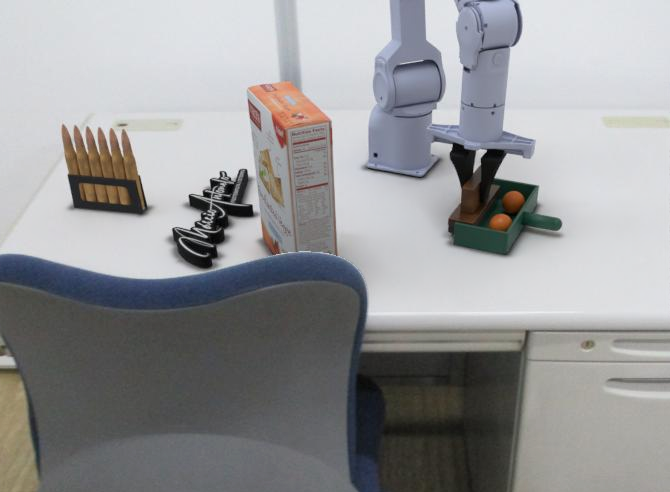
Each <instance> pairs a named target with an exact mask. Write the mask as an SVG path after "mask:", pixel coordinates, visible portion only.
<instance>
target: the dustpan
mask: <svg viewBox="0 0 670 492" xmlns="http://www.w3.org/2000/svg"><path fill="white" fill-rule="evenodd" d="M492 184H493V185H498V186H500V193H499V200H498V202H497V203H496V205H495V206H494V208H493V209H492V211H491V212H490V213H489V215H488V216H487V218H486V219H485V220H484V222H483V223H482V225H481V226H480V227H478V226H473V225H467V224H462V223H457V222H456V223H455V228H454V233H453V245H456V246H461V247H465V248H470V249H476V250H479V251H484V252H489V253H495V254H500V255H507V253H508V252H509V251H510V249H511V247H512V245H513V244H514V242H515V241H516V239H517V237H518V236H519V234H520V232H521V231H522V229H523V228H524V226H526V227H530V228H536V229H540V230H541V229H542V230H546V231H552V232H558V231H560V230H561V229H562V228H563V221H562V219H560V218H559V217H557V216H550V215H544V214H539V213H534V212H533V211H534V209H535V208H536V207H537V205H538V197H539V190H540V185H539V184H532V183H527V182H521V181H515V180H511V179H510V180H509V179H503V178H497V177H494V180H493V183H492ZM510 191H517V192H519V193H521V194H522V195H523V197H524V200H525V204H524V206H523V207H522V209H521V210H520V212H519V213H517V214H509V213H507V212H506V211H505V210H504V209H503V206H502V200H503V197H504V196H505V195H506V194H507V193H508V192H510ZM497 214H505V215H507V216H509V217H510V218H511V220H512V224H511V226H510V227H509V229H508V231H507V232H504V231H499V230H493V229H489V223H490V220H491V219H492V218H493V217H494V216H495V215H497Z"/></svg>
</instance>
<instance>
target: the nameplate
mask: <svg viewBox="0 0 670 492" xmlns="http://www.w3.org/2000/svg"><path fill="white" fill-rule="evenodd" d="M248 182H249V171H248V169H247V168H240V169H238V172H237V175H236V178H235V181H233V180H232V177H231V176H228V172H226V171H225V170H220V171H219V177H218V178H216V177H212V178H210V179H209V185H210V189H209V188H206V189H203V190H202V195H201V194H195V193H190V194H188V203H189V206H190V207H192V208H194V209H197V210H200V211H202V212H201V213H200V220H196V221H194V226H191V227H190V229H188V228H184V227H179V226H175V227H171V233H172V237H173V241H174V242H175V244H176V247H177V252H178V254H179V256H180V257H181V258H182V259H183V260H185V261H186V262H187V263H189V264H191V265H193V266H194V267H197V268H200V269H210V268H212V267H213V264H214V263H213V259H217V258H218V256H219V255H218V247H217V245H218V244H222V242H224V241H225V239H226V237H225V228H227V227H228V226H229V224H230V223H229V216H231V217H239V218H240V217H241V218H242V217H243V218H247V217H248V218H249V217H253V216H254V207H253V206H254V205H253V204H252V203H242V202H243V199H244V196H245V193H246V189H247V186H248Z"/></svg>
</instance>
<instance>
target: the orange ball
mask: <svg viewBox="0 0 670 492" xmlns="http://www.w3.org/2000/svg"><path fill="white" fill-rule="evenodd" d="M524 204H525V200H524V197H523V195H522V194H521V193H519V192H517V191H510V192H508V193H507V194H506V195H505V196H504V197H503V200H502V206H503V209H504V210H505V211H506V212H507V213H509V214H517V213H519V212H520V210H521V209H522V207H523V206H524Z"/></svg>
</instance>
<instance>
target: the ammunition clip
mask: <svg viewBox="0 0 670 492" xmlns="http://www.w3.org/2000/svg"><path fill="white" fill-rule="evenodd" d="M60 129H61V131H60V132H61V139H62V144H63V150H64V160H65V163H66V167H67V171H68V173H67V180H68V184H69V189H70V194H71V199H72V204H73V207H74V209H84V210H93V211H106V212H116V213H124V214H125V213H127V214H133V215H134V214H135V215H143V214H144V213H145V212H146V211H147V209H149V207H148V203H147V199H146V195H145V191H144V186H143V182H142V178H141V175H140V174H139V171H138V166H137V161H136V157H135V156H134V152H133V149H132V145H131V140H130V137H129V135H128V133H127V131H126V130H125V129H124V128H122V129H121V134H120V135H121V136H120V137H121V138H120V139H121V140H120V142H119V139H118V137H117V134H116V132H115V131H114V129H113V128H112V127H110V129H109V133H108V135H109V136H108V140H109V146H110V149H109V146H108V141H107V138H106V135H105V133H104V130H103V129H102V128H101V127H100V126H98V127H97V132H96V133H97V134H96V135H97V143H96V139H95V136H94V134H93V131H92V130H91V128H90V126H88V125H87V126H85V142H86V145H85V142H84V139H83V136H82V133H81V131H80V129H79V127H78V126H77V125H76V124H74V125H73V131H72V133H73V140H72V136H71V134H70V132H69V130H68V128H67V126H66V125H65V124H64V123H62V124H61V128H60ZM73 141H74V144H73ZM120 143H121V147H120ZM97 144H98V146H97ZM74 145H75V146H74ZM74 147H75V148H74ZM121 148H122V151H121ZM98 150H99V151H98Z"/></svg>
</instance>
